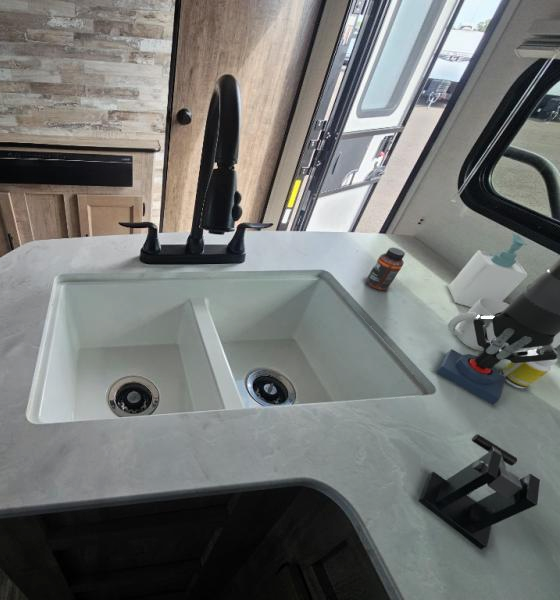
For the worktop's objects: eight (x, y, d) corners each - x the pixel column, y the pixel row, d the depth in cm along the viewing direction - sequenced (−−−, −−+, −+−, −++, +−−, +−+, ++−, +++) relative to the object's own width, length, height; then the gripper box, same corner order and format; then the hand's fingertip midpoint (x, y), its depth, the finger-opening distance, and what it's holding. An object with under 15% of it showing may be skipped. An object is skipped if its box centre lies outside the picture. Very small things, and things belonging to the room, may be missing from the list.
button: (466, 361, 70) (472, 356, 69) (486, 372, 68) (492, 366, 67) (462, 369, 68) (468, 364, 67) (483, 381, 66) (489, 375, 65)
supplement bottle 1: (391, 287, 94) (414, 253, 87) (381, 293, 92) (403, 259, 84) (371, 276, 98) (391, 243, 91) (361, 282, 95) (381, 248, 88)
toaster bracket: (428, 474, 53) (480, 437, 45) (488, 517, 49) (556, 484, 41) (417, 501, 50) (472, 466, 42) (480, 549, 45) (553, 521, 38)
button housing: (444, 355, 75) (456, 343, 72) (498, 383, 69) (512, 371, 67) (435, 372, 70) (447, 360, 68) (492, 404, 65) (507, 393, 62)
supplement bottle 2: (531, 391, 69) (567, 365, 63) (508, 387, 69) (541, 361, 64) (516, 373, 72) (548, 347, 67) (493, 369, 73) (524, 343, 67)
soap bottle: (481, 295, 95) (535, 237, 83) (490, 313, 89) (550, 253, 77) (447, 286, 98) (494, 228, 85) (454, 302, 91) (506, 242, 79)
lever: (468, 440, 53) (479, 430, 52) (507, 465, 50) (519, 454, 49) (474, 477, 44) (487, 465, 43) (521, 509, 41) (537, 497, 40)
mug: (477, 330, 83) (508, 300, 76) (503, 357, 76) (539, 326, 69) (427, 324, 83) (453, 293, 76) (449, 351, 76) (479, 319, 70)
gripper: (502, 289, 58) (439, 354, 69) (606, 332, 51) (518, 397, 62) (507, 275, 62) (448, 338, 73) (605, 313, 55) (522, 376, 66)
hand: (480, 365), depth 67 cm, fingers closed
